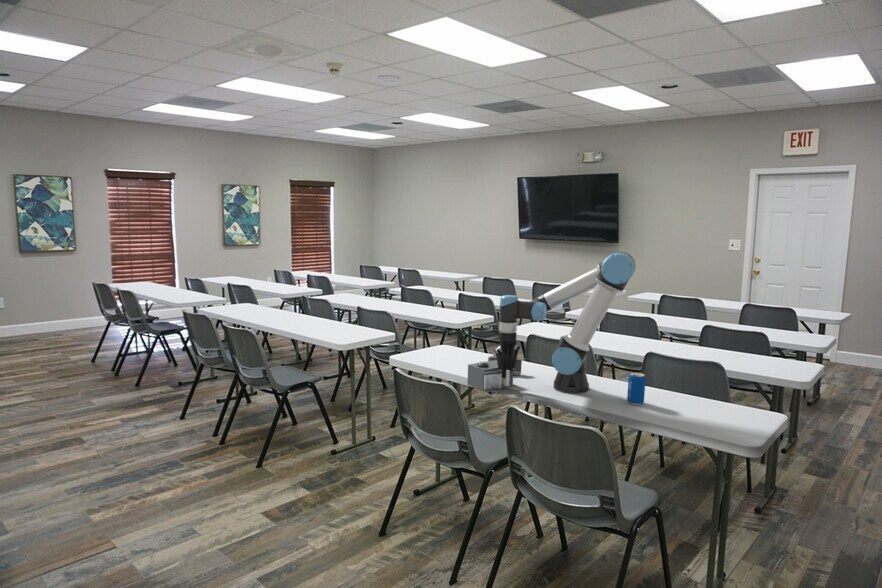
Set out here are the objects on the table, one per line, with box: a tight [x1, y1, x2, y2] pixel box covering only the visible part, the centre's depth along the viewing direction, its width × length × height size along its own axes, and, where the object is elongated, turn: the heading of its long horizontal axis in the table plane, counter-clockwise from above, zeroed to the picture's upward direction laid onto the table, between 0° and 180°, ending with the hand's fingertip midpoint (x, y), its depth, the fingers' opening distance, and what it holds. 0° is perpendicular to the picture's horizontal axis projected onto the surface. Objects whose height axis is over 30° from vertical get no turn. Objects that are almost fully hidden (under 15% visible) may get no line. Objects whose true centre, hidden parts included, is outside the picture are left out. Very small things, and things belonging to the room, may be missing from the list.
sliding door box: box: [467, 360, 515, 392], centre depth 250 cm, size 12×17×11 cm
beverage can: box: [626, 372, 647, 406], centre depth 228 cm, size 6×6×12 cm
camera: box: [487, 352, 523, 376], centre depth 271 cm, size 9×16×10 cm, turn 86°
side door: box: [484, 373, 502, 390], centre depth 242 cm, size 3×7×6 cm, turn 125°
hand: (505, 384), depth 244 cm, fingers closed
